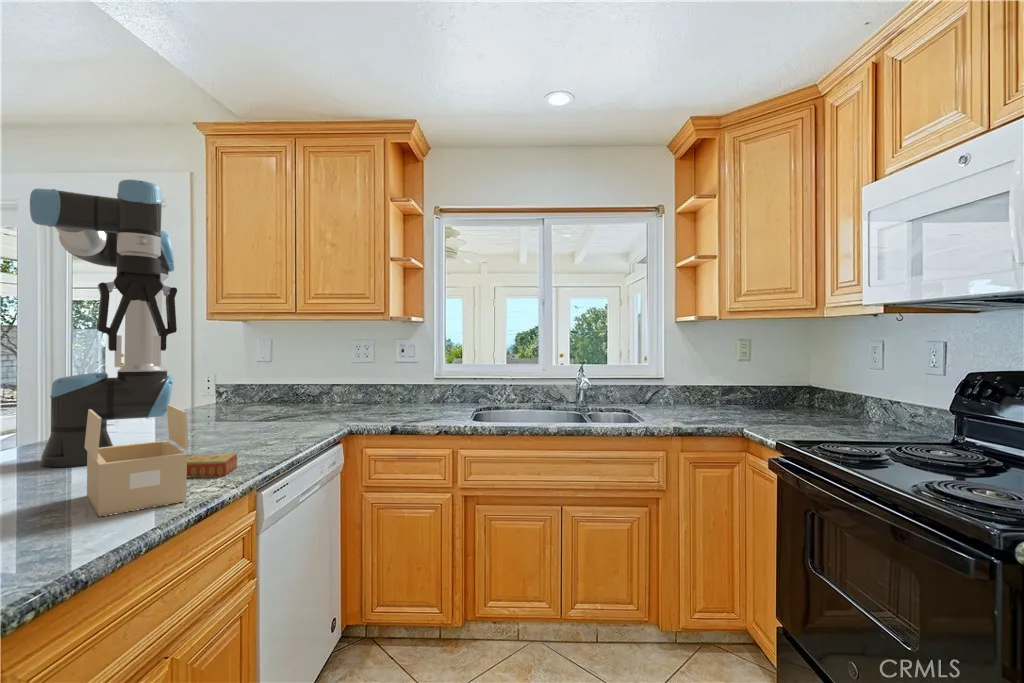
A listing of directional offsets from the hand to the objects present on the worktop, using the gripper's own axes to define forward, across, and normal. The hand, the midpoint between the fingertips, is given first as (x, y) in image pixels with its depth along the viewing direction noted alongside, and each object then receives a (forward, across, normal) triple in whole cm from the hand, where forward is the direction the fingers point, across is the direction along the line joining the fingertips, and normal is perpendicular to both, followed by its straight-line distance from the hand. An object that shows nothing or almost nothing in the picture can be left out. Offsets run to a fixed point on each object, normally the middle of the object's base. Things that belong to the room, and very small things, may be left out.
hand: (137, 366), depth 110 cm
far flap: (+13, +7, 0) cm, 15 cm away
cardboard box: (+28, 0, 0) cm, 28 cm away
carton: (+28, +15, +15) cm, 35 cm away
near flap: (+13, -7, 0) cm, 15 cm away
